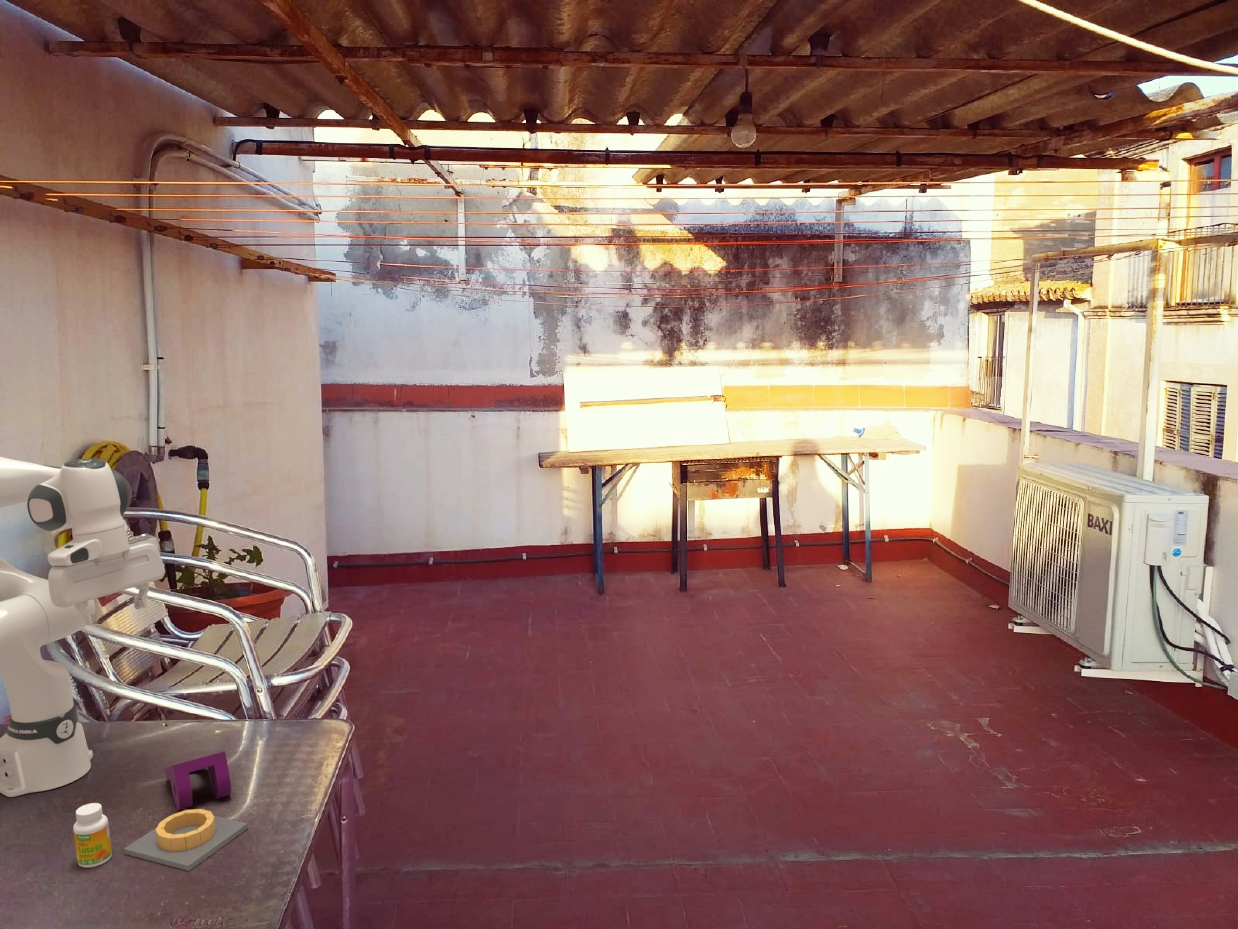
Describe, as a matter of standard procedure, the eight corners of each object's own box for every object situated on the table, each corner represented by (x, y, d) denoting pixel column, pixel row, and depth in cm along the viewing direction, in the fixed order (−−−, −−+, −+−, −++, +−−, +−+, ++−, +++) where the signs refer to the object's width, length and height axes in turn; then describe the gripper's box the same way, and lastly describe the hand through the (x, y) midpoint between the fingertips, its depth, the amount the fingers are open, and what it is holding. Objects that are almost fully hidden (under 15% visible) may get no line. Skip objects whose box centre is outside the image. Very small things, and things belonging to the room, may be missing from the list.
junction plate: (124, 854, 170) (122, 836, 170) (186, 813, 183) (184, 797, 182) (188, 871, 165) (186, 852, 164) (247, 828, 177) (246, 811, 177)
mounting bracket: (169, 811, 195) (180, 810, 181) (161, 769, 197) (172, 765, 182) (218, 797, 201) (233, 794, 186) (210, 756, 202) (224, 751, 188)
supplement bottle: (76, 871, 165) (69, 820, 163) (79, 855, 170) (72, 805, 168) (111, 863, 167) (104, 812, 166) (113, 847, 172) (107, 798, 170)
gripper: (146, 530, 189) (159, 598, 191) (37, 558, 173) (53, 632, 175) (163, 531, 186) (177, 600, 188) (54, 559, 169) (71, 634, 171)
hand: (117, 615), depth 181 cm, fingers open, 8 cm apart
